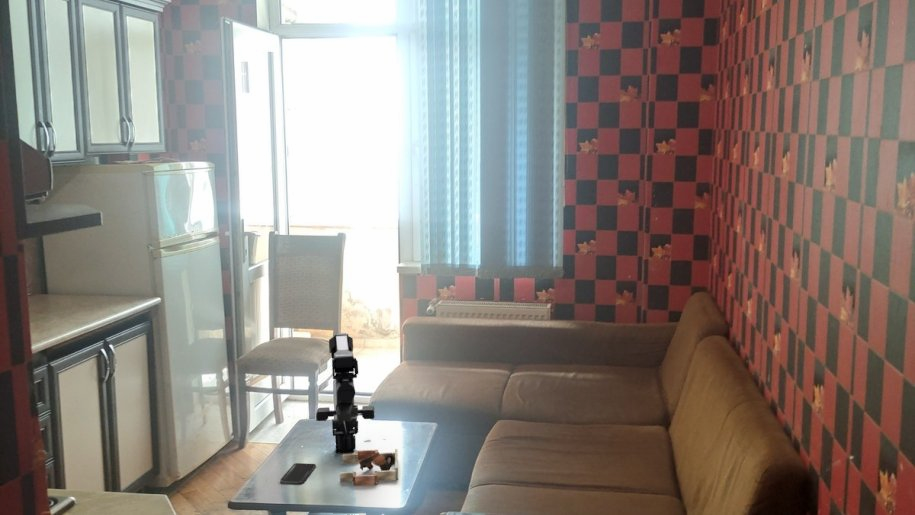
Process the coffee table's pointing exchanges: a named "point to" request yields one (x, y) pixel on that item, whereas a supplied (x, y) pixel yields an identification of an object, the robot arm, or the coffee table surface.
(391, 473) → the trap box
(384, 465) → the pottery mug
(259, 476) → the coffee table surface
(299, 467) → the phone
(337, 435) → the robot arm
